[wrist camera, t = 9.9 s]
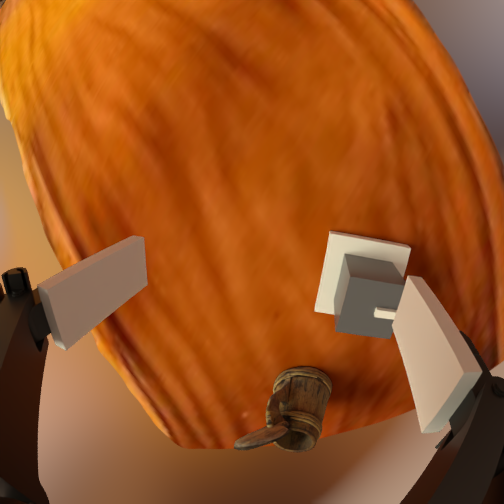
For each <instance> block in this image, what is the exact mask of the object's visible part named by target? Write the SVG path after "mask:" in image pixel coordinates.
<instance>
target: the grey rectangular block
mask: <svg viewBox="0 0 504 504" xmlns="http://www.w3.org/2000/svg"><path fill="white" fill-rule="evenodd" d="M405 283H406V282H405V280H404V279H403V277H402V276H401V274H400V273H399V271H398V270H397V268H396V267H395V265H394V264H393V262H389V261H384V260H378V259H373V258H367V257H362V256H356V255H350V254H345V253H344V257H343V262H342V266H341V271H340V275H339V280H338V284H337V288H336V292H335V296H334V314H335V331H336V332H343V333H349V334H356V335H363V336H371V337H378V338H386V339H390V337H391V335H392V332H393V328H392V324H393V321H394V318H395V315H396V312H397V309H398V306H399V303H400V300H401V297H402V293H403V290H404V287H405Z"/></svg>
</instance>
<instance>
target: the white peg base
mask: <svg viewBox="0 0 504 504" xmlns="http://www.w3.org/2000/svg"><path fill="white" fill-rule="evenodd" d="M410 251H411V248H410V247H409V246H408V245H405V244H400V243H395V242H390V241H385V240H380V239H374V238H369V237H363V236H358V235H352V234H347V233H341V232H335V231H330V233H329V239H328V244H327V250H326V255H325V260H324V266H323V271H322V276H321V280H320V285H319V290H318V295H317V299H316V304H315V311H316V312H322V313H328V314H334V296H335V292H336V288H337V284H338V280H339V275H340V271H341V266H342V262H343V257H344V253H345V254H350V255H356V256H362V257H367V258H373V259H378V260H384V261H389V262H393V264H394V265H395V267H396V268H397V270H398V271H399V273H400V274H401V276H402V277H404V273H405V270H406V266H407V262H408V259H409V255H410ZM334 315H335V314H334Z"/></svg>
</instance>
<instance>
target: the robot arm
mask: <svg viewBox="0 0 504 504" xmlns="http://www.w3.org/2000/svg"><path fill="white" fill-rule="evenodd" d="M2 279H3V283H4V287H5V290H6V294H4V292H3V288H2V285H1V283H0V504H49V500H48V497H47V495H46V492H45V491H44V489H43V487H42V486H41V484H40V481H39V477H38V453H37V452H38V450H37V449H38V446H37V445H38V442H37V441H38V418H39V405H40V395H41V387H42V379H43V372H44V366H45V360H46V355H47V350H48V345H49V343H48V339H47V335H48V334H50V333H51V334H52V337H53V339H54V342H55V344H56V345H57V346H59V347H61V348H62V349H64V350H68V349H69V348H70V347H71V346H72V345H74V344H75V343H76V342H77V341H78V340H80V339H81V338H82V337H83V336H84V335H86V334H87V333H88V332H89V331H90V330H92V329H93V328H94V327H95V326H96V325H98V324H99V323H100V322H101V321H103V320H104V319H105V318H106V317H107V316H109V315H110V314H111V313H112V312H114V311H115V310H116V309H117V308H119V307H120V306H121V305H122V304H124V303H125V302H126V301H127V300H129V299H130V298H131V297H132V296H134V295H135V294H136V293H137V292H139V291H140V290H141V289H143V288H144V287H145V286H146V285H148V283H147V273H146V261H145V247H144V237H139V236H131V237H129V238H127V239H124V240H122V241H120V242H118V243H116V244H114V245H112V246H110V247H108V248H106V249H104V250H102V251H100V252H98V253H96V254H94V255H92V256H90V257H88V258H86V259H84V260H82V261H80V262H78V263H76V264H75V265H73V266H71V267H69V268H67V269H65V270H63V271H61V272H60V273H58V274H56V275H54V276H52V277H51V278H49V279H47V280H45V281H43V282H42V283H40V284H38V285H37V288H36V289H35V290H33V291H32V288H31V285H30V281H29V276H28V272H27V270H26V268H23V267H20V268H14V269H11V270H8V271H6V272H5V273H3V274H2ZM392 328H393V331H394V334H395V337H396V340H397V343H398V346H399V349H400V352H401V355H402V358H403V362H404V365H405V369H406V372H407V375H408V379H409V383H410V386H411V390H412V394H413V398H414V402H415V406H416V410H417V414H418V419H419V424H420V428H421V433H432V432H440V431H441V430H442V428H443V427H444V426H445V425H446V423H447V422H448V421H449V422H450V425H451V430H450V431H449V432H448V434H447V435H446V436H445V437H444V438H443V439H442V440H441V441H440V442H439V444H438V445H437V446H436V447H435V448H436V449H437V448H438V447H439V446H440V447H439V448H438V450H437V452H436V453H435V455H434V456H433V458H432V460H431V461H430V463H429V464H428V466H427V467H426V469H425V470H424V472H423V473H422V475H421V476H420V478H419V479H418V480H417V482H416V483H415V485H414V486H413V487H412V489H411V490H410V491H409V492H408V494H407V495H406V496H405V498H404V499H403V500H402V501H401V503H400V504H504V379H503V378H500V377H496V376H495V377H494V376H492V375H491V373H490V372H489V370H488V368H487V366H486V365H485V363H484V361H483V359H482V358H481V356H480V355H479V353H478V351H477V349H476V348H475V346H474V344H473V343H472V341H471V340H470V338H469V337H468V336H466V335H465V334H464V333H463V332H462V331H459V330H458V329H457V327H456V326H455V324H454V323H453V321H452V320H451V318H450V316H449V315H448V314H447V312H446V311H445V309H444V308H443V306H442V305H441V303H440V302H439V300H438V299H437V298H436V296H435V295H434V293H433V292H432V291H431V289H430V288H429V286H428V285H427V284H426V282H425V281H424V280H423V278H422V277H417V276H410V275H408V276H407V280H406V283H405V287H404V290H403V293H402V297H401V300H400V303H399V306H398V309H397V312H396V315H395V318H394V321H393V324H392Z"/></svg>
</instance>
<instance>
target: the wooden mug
mask: <svg viewBox="0 0 504 504" xmlns="http://www.w3.org/2000/svg"><path fill="white" fill-rule="evenodd" d="M331 391H332V382H331V380H330V378H329V377H328V376H327V375H326V374H325V373H323V372H322V371H320V370H318V369H316V368H312V367H297V368H292V369H289V370H286V371H284V372H282V373H281V374H280V375H279V376H278V377H277V378H276V380H275V383H274V387H273V392H274V394H273V395H272V396H271V397H270V399H269V401H268V403H267V408H266V422H267V426H266V427H264V428H262V429H259V430H257V431H255V432H252V433H250V434H248V435H246V436H244V437H242V438H240V439H238V440H236V441H235V444H234V448H235V449H238V450H250V449H253V448H257V447H260V446H263V445H267V444H270V443H273V444H274V445H275V446H277V447H278V448H280V449H282V450H285V451H290V452H303V451H308V450H311V449H312V448H314V446H315V445H316V442H317V440H318V439H319V437H320V435H321V432H322V421H323V417H324V413H325V410H326V406H327V402H328V399H329V397H330V394H331Z"/></svg>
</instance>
